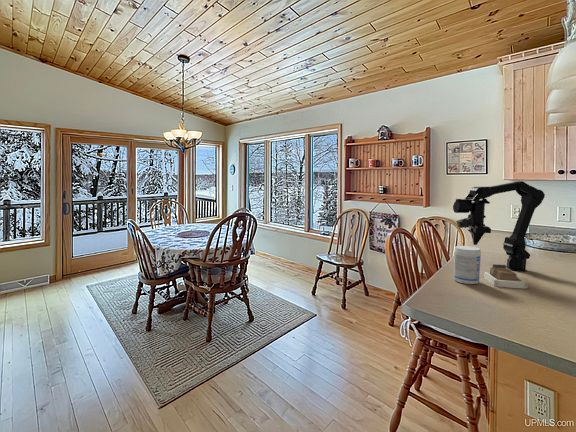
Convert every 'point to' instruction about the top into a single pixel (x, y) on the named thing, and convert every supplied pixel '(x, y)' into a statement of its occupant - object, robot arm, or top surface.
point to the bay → (506, 282)
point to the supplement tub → (467, 264)
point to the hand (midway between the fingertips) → (475, 244)
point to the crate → (502, 273)
